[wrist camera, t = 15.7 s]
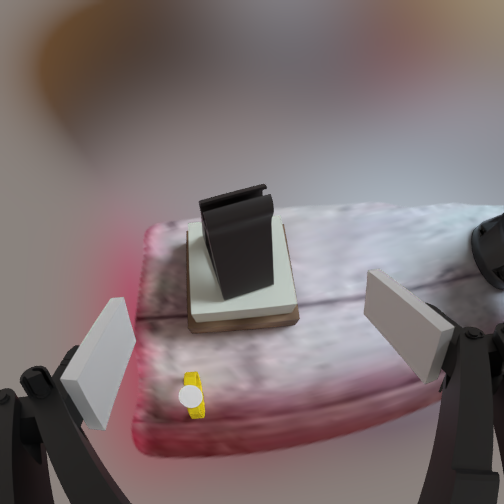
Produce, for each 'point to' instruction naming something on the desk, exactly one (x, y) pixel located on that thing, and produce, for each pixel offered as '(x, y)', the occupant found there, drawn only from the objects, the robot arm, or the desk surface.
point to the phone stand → (239, 239)
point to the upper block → (247, 305)
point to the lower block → (237, 323)
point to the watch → (192, 395)
